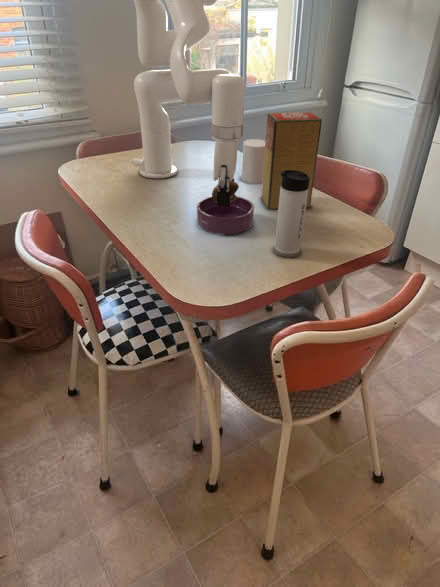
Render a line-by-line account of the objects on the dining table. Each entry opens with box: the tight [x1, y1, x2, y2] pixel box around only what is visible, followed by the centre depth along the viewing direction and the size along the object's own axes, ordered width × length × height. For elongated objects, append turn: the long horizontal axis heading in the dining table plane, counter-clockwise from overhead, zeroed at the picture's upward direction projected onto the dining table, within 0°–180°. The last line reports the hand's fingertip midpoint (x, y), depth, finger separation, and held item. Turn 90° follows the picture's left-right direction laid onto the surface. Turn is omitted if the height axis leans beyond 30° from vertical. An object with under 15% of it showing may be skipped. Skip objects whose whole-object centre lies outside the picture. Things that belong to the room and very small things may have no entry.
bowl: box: [196, 195, 255, 235], centre depth 120 cm, size 15×15×5 cm
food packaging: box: [260, 111, 323, 210], centre depth 126 cm, size 13×9×25 cm
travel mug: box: [273, 170, 310, 258], centre depth 103 cm, size 6×7×20 cm
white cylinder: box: [241, 138, 266, 184], centre depth 146 cm, size 8×8×12 cm
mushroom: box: [211, 181, 240, 203], centre depth 116 cm, size 8×8×6 cm
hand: (225, 198), depth 117 cm, fingers closed on mushroom, 8 cm apart
